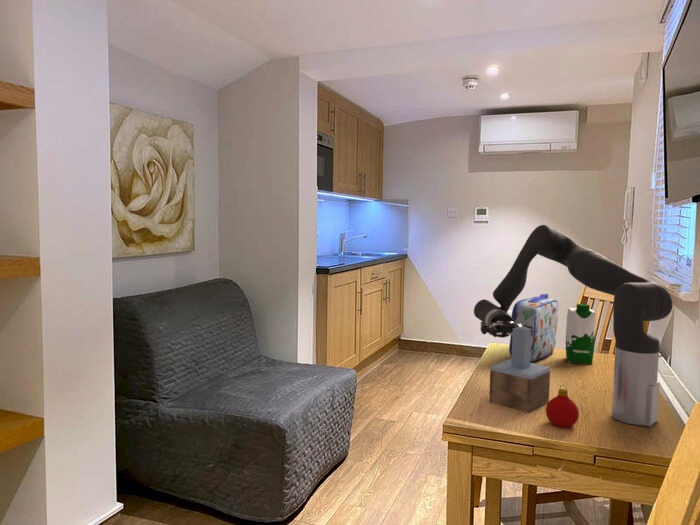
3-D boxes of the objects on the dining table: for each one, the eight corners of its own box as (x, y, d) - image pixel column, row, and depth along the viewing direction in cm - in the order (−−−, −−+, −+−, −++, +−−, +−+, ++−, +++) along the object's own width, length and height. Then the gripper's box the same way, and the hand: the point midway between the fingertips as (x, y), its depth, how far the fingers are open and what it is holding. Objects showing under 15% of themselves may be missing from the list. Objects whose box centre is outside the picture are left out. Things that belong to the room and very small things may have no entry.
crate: (548, 404, 136) (550, 370, 135) (529, 415, 128) (530, 379, 127) (509, 394, 144) (510, 362, 143) (489, 404, 136) (490, 370, 135)
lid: (549, 376, 135) (552, 328, 134) (530, 385, 127) (532, 335, 127) (510, 367, 143) (512, 322, 142) (490, 375, 135) (491, 328, 134)
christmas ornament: (574, 422, 124) (576, 381, 123) (581, 434, 117) (583, 391, 116) (542, 420, 125) (544, 379, 124) (547, 431, 118) (549, 388, 118)
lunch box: (531, 346, 200) (533, 289, 198) (559, 351, 194) (562, 292, 192) (505, 361, 178) (507, 297, 177) (535, 366, 172) (538, 300, 170)
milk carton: (567, 363, 176) (570, 305, 175) (563, 357, 185) (565, 301, 184) (595, 365, 175) (598, 306, 173) (589, 358, 183) (592, 302, 182)
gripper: (476, 310, 162) (486, 319, 146) (523, 311, 161) (538, 321, 145) (475, 333, 163) (485, 346, 147) (522, 335, 162) (536, 348, 145)
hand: (511, 334), depth 146 cm, fingers open, 8 cm apart
